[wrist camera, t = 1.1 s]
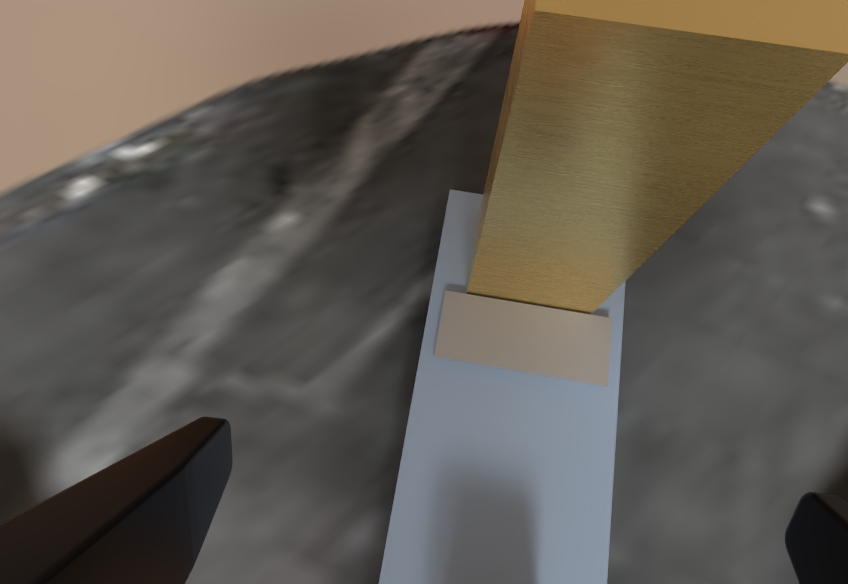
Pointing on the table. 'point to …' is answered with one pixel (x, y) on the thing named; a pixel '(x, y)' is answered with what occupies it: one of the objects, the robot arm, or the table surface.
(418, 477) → the plane body
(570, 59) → the tan tall block
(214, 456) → the robot arm
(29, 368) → the table surface
